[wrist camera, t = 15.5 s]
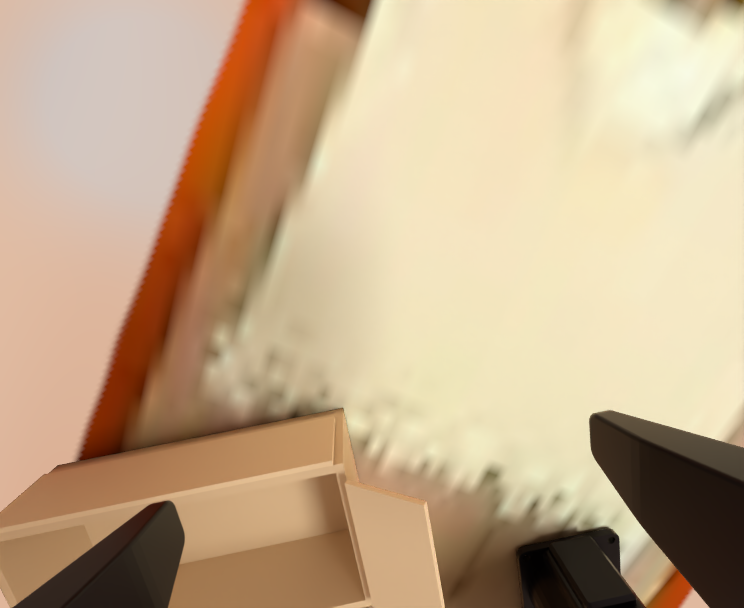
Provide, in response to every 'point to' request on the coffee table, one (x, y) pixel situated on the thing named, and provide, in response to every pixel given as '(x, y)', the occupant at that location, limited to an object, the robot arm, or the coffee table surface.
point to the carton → (209, 516)
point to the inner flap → (395, 547)
